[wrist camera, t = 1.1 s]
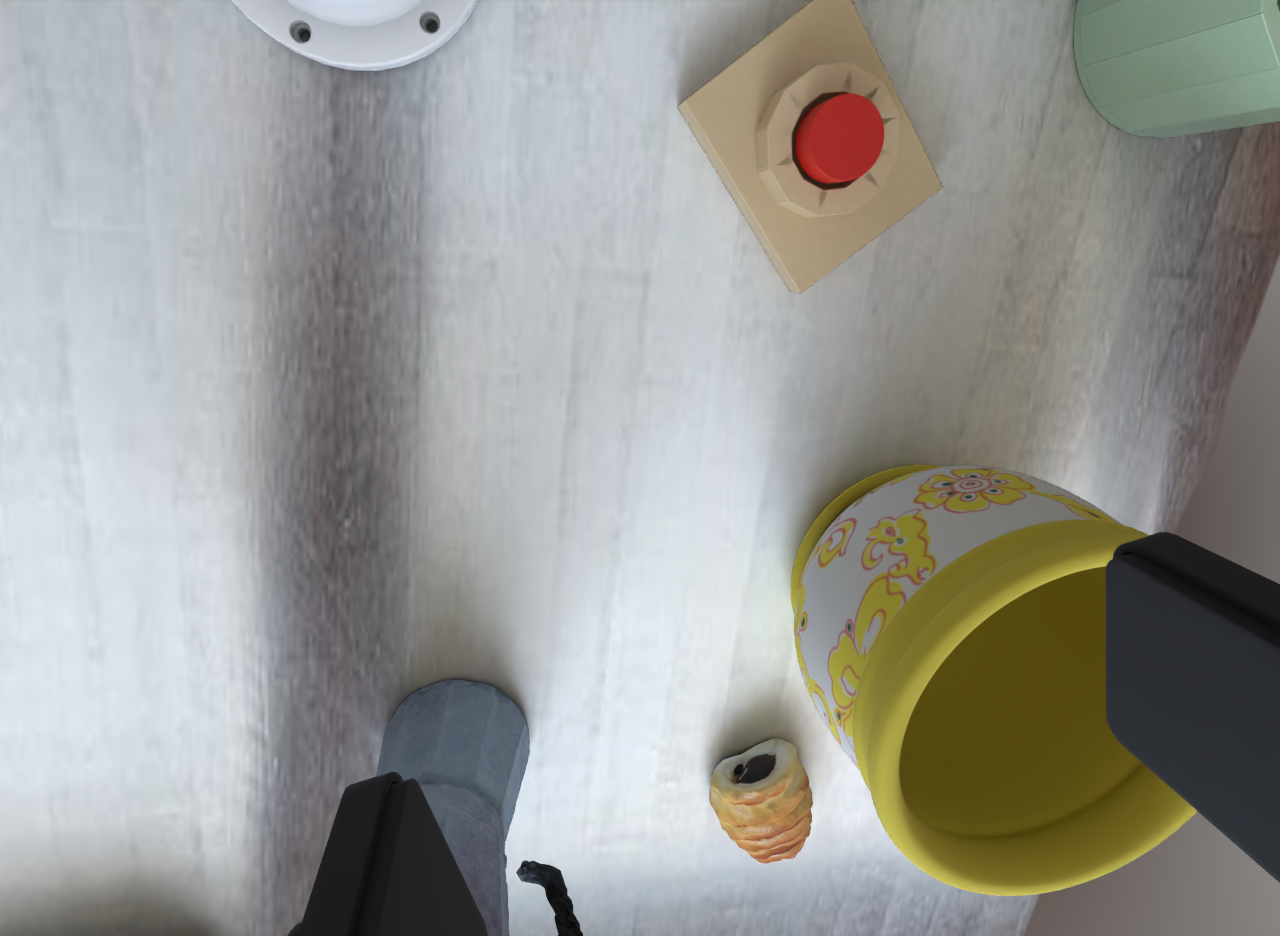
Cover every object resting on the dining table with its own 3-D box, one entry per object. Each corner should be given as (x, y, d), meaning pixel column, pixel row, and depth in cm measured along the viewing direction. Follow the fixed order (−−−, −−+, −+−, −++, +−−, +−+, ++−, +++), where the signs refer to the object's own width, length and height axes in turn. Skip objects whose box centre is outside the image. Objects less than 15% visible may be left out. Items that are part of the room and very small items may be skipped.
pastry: (819, 823, 51) (840, 868, 47) (732, 856, 51) (747, 903, 47) (788, 726, 48) (808, 767, 44) (695, 761, 47) (708, 805, 44)
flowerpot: (874, 727, 49) (1032, 955, 33) (696, 582, 43) (788, 778, 28) (1070, 546, 46) (1339, 701, 31) (909, 366, 41) (1141, 448, 25)
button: (780, 131, 32) (794, 126, 31) (844, 83, 32) (861, 75, 31) (818, 199, 34) (833, 197, 32) (880, 152, 33) (898, 148, 32)
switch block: (676, 106, 34) (692, 93, 31) (826, -11, 34) (858, -37, 30) (789, 291, 38) (813, 297, 35) (926, 189, 37) (964, 185, 34)
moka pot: (348, 651, 41) (197, 1004, 22) (601, 687, 44) (655, 1019, 26) (325, 782, 44) (172, 1197, 25) (566, 806, 47) (591, 1188, 28)
